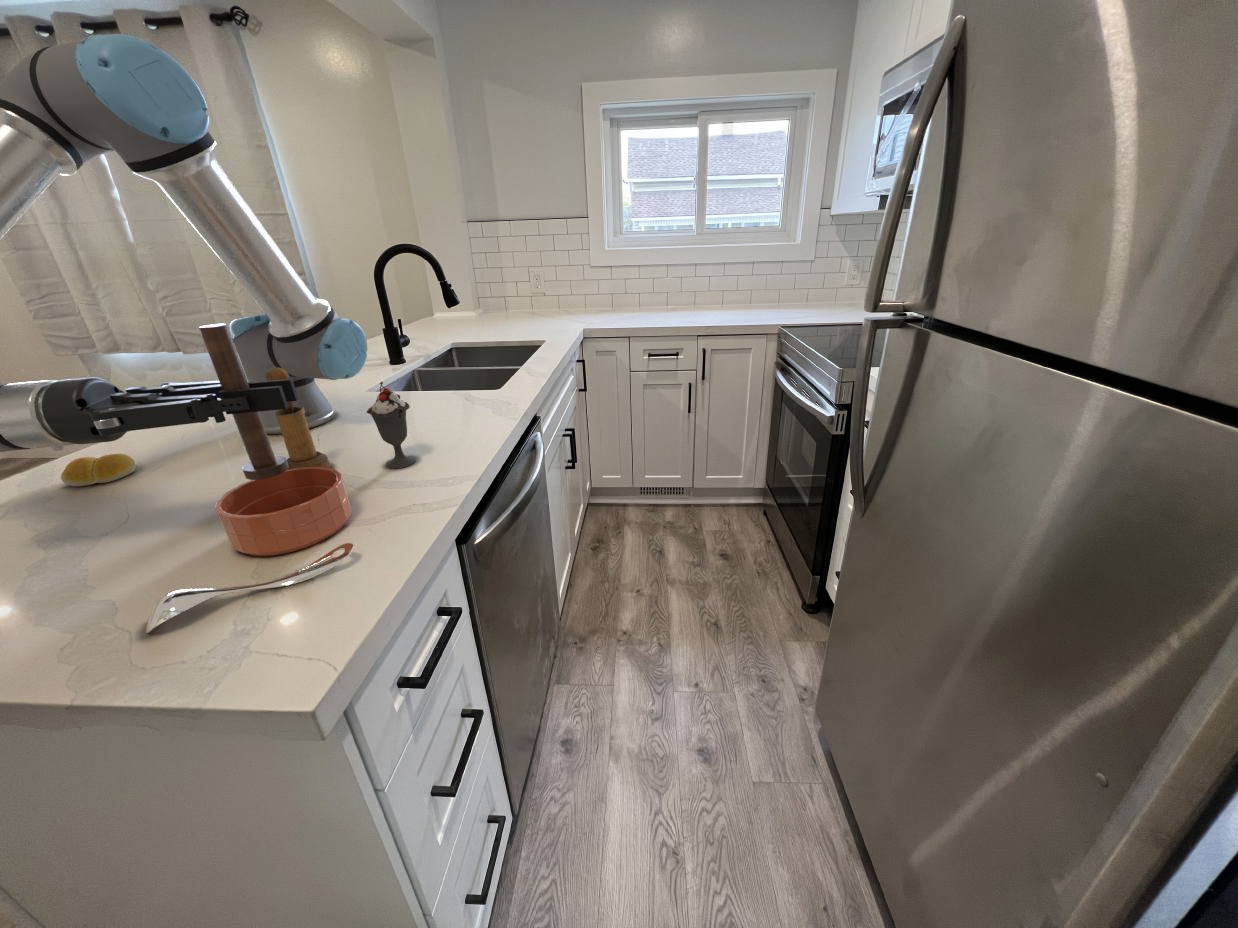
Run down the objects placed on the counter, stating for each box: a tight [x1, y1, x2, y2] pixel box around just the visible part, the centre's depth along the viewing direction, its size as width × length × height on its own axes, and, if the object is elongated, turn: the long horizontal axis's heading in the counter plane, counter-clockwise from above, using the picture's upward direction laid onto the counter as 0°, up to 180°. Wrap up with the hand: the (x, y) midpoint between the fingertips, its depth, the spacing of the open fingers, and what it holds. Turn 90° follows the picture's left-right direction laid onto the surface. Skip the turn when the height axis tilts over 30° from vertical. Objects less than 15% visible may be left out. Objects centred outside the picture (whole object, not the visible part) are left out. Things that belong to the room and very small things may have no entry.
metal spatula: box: [145, 542, 355, 634], centre depth 55 cm, size 20×4×5 cm
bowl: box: [214, 467, 352, 557], centre depth 67 cm, size 14×14×6 cm
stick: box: [198, 323, 289, 481], centre depth 61 cm, size 5×5×19 cm
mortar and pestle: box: [266, 368, 332, 470], centre depth 81 cm, size 7×6×18 cm
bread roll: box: [60, 453, 137, 487], centre depth 86 cm, size 8×9×4 cm
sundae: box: [365, 381, 417, 470], centre depth 84 cm, size 7×7×15 cm
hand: (288, 393), depth 61 cm, fingers closed on stick, 3 cm apart
